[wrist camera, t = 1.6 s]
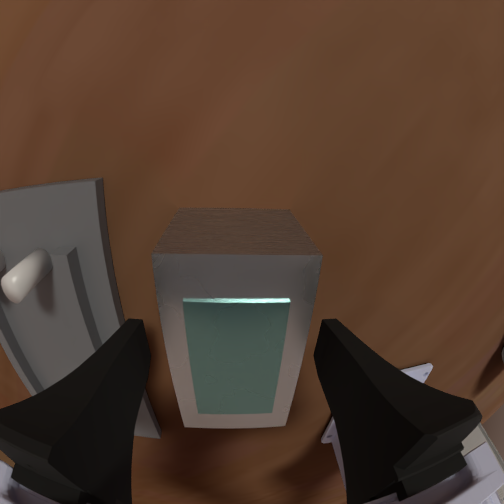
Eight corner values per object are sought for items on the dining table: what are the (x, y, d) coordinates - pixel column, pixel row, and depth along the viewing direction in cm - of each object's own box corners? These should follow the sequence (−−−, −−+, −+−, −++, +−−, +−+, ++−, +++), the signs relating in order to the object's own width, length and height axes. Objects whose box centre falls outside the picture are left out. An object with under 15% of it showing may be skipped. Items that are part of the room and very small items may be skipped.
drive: (272, 357, 16) (285, 427, 11) (192, 357, 16) (184, 428, 11) (288, 208, 12) (323, 256, 8) (180, 206, 12) (150, 254, 7)
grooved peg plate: (161, 431, 19) (156, 468, 15) (47, 407, 18) (35, 436, 14) (102, 177, 11) (58, 197, 7) (-37, 198, 10) (-75, 217, 6)
